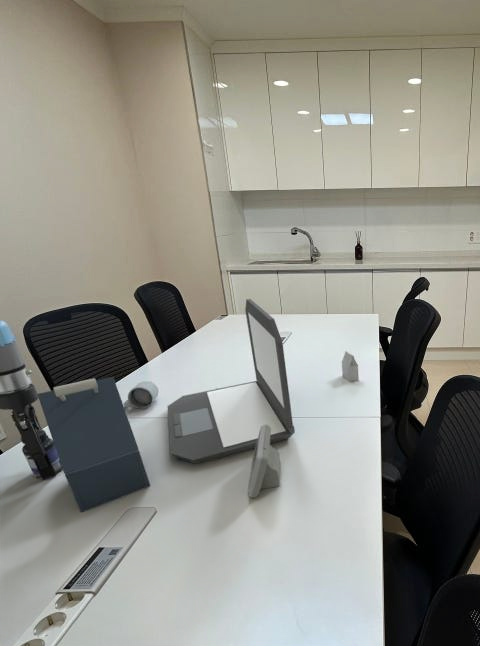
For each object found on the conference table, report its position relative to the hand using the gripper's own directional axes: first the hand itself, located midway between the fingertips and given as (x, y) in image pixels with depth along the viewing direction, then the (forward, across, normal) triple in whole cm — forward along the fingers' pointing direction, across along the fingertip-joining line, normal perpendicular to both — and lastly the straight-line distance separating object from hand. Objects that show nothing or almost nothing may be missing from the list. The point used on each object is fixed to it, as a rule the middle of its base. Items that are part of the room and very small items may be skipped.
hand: (49, 470), depth 98 cm
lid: (-17, -18, -12) cm, 28 cm away
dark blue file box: (0, -15, -12) cm, 19 cm away
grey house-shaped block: (+1, -2, -93) cm, 93 cm away
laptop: (+1, -4, -44) cm, 44 cm away
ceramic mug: (+1, +27, -26) cm, 37 cm away
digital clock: (+1, -38, -41) cm, 56 cm away
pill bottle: (+1, 0, 0) cm, 1 cm away
